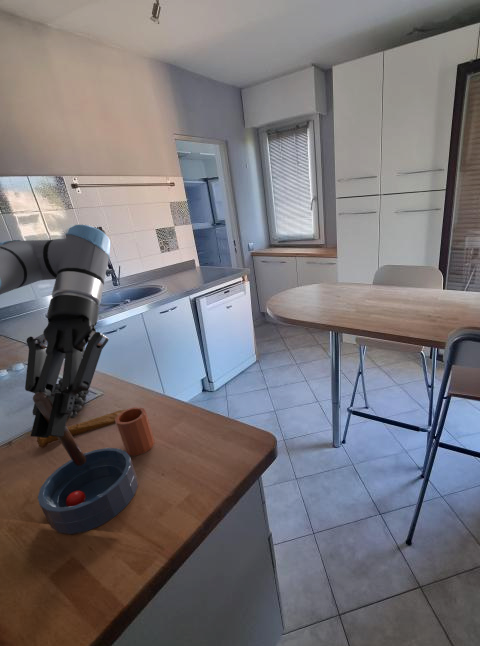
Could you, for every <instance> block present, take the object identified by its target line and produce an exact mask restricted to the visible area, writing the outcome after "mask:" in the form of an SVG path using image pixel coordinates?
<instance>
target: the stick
mask: <svg viewBox="0 0 480 646" xmlns="http://www.w3.org/2000/svg"><path fill="white" fill-rule="evenodd" d="M32 402H34V403H35V404H36V406H37V407H38V409H39V410H40V412H41V413H42V415H43V416H44V418H45V419H46V421H47V422H48V424H49V420H50V415H51V410H52V407H53V404H52V402H51V401H50V399H49V397H48V396H47V394H46V393H44V392H38V393H36V394H35V393H34V394H33V396H32ZM67 427H68V426H67V425H66V426H65V431H64V436H63V437H57V438H58V439H59V440H58V441H59V442H60V444H61V445H62V447H63V448H64V450H65V451H66V453H67V454H68V456H69V458H70V460H72V461H73V462H74V464H75V465H77V466H81V465H83V464H84V463H85V462H86V457H85V456H84V452H83V451H82V449H81V447H80V445H79V444H78V443H77V441H76V439H75V438H74V436H72V435H71V433H70V431H69V430H68V428H67Z"/></svg>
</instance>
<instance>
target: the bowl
mask: <svg viewBox="0 0 480 646" xmlns="http://www.w3.org/2000/svg"><path fill="white" fill-rule="evenodd" d="M83 454H84V456H85V457H86V462H85V463H84V464H83V465H81V466H77V465H75V464H74V462H73V461H72V459H70V460H68V461H67V462H65V463H63V464H62V465H60V466H59V467H58V468H57V469H56V470H54V471H53V472H52V473H51V474H50V475H49V476H48V477H47V478H46V480H45V481H44V482H43V483H42V485H41V487H40V488H39V491H38V495H37V500H38V504H39V507H40V508H41V510H42V512H43V514H44V516H45V518H46V520H47V522H48V524H49V526H50V528H51V529H53V530H54V531H56V532H57V533H59V534H66V535H74V534H79V533H85V532H89V531H92V530H93V529H96V528H98V527H101V526H103V525H104V524H105V523H107V522H109V521H111V520H112V519H113V518H115V517H117V515H119V513H121V512H122V511H124V509H125V508H126V507H127V506H128V505H129V504H130V502H131V501H132V500H133V498H134V497H135V494H136V492H137V490H138V486H139V483H138V482H139V480H138V475H137V473H136V470H135V467H134V464H133V461H132V459H131V455H128V454H127V452H126V451H125V450H123V449H121V448H118V447H105V448H104V447H103V448H97V449H93V450H91V451H88V452H83ZM74 491H82V492H83V493H84V494H85V496H86V499H85V502H84V503H81V504H78V505H76V506H70V507H67V505H66V499H67V497H68V496H69V494H71V493H72V492H74Z"/></svg>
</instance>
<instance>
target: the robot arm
mask: <svg viewBox="0 0 480 646" xmlns="http://www.w3.org/2000/svg"><path fill="white" fill-rule="evenodd" d="M110 253H111V240H110V238H109V237H108V236H107V234H106V233H105V232H103V230H101V229H99V228H98V227H95V226H92V225H89V224H74V225H73V226H71V227H69V228H68V230H67V232H66V233H65V238H54V239H33V240H29V239H28V240H21V239H13V240H6V241H0V296H1V295H3V294H5V293H8V292H11V291H13V290H16V289H17V290H18V289H20V288H23V287H25V286H29V285H31V284H34V283H37V282H41V281H50V280H55V281H54V285H53V289H52V293H51V297H52V298H51V299H50V301H49V304H48V309H47V312H46V318H47V325H46V327H45V328H44V329H43V333H42V334H40V335H38V336H36V337H34V336H29V337H27V338H26V344H27V347H28V356H27V364H26V365H27V366H26V374H25V384H24V385H25V386H24V390H25V391H26V392H29V393H32V394H34V395H35V394H36V393H38V392H44V393H46V394H47V396H48V397H49V399H50V401H51V402H52V404H53V407H52V410H51V415H50V420H49V424H48V422H47V421H46V419H45V418H44V416H43V415H42V413H41V412H40V410H39V409H38V407H37V406H36V404H35V402H34V404H33V408H32V415H33V416H34V419H33V423H32V428H31V432H30V437H34V438H37V437H41V438H48V437H49V436H56V437H63V436H64V431H65V426H66V427H67V420H68V418H67V416H68V414H71V413H72V411H73V406H74V401H75V396H76V394H77V393H79V392H81V391H87V390H90V387H91V384H92V382H93V378H94V375H95V372H96V369H97V367H98V364H99V360H100V357H101V354H102V351H103V349H104V347H105V346H106V345H107V344H108V343H109V337H107V336H106V335H105V334H103V333H101V332H100V331H97V330H96V326H97V324H98V320H99V314H100V305H101V304H102V303H101V301H102V296H103V291H104V284H105V278H106V273H107V269H108V266H109V261H110V260H111V256H110ZM63 363H64V364H63ZM62 367H63V372H62V378H61V379H62V386H61V388H58V391H60V392H63V394H62V393H55V394H53V393H54V389H55V386H56V384H58V383H57V382H58V381H59V380H58V379H59V376H60V372H61V370H62Z"/></svg>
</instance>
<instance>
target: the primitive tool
mask: <svg viewBox="0 0 480 646" xmlns="http://www.w3.org/2000/svg"><path fill="white" fill-rule="evenodd" d="M125 410H126V409H120V410H116V411H114V412H110V413H107V414H105V415H102V416H99V417H95V418H92V419H88V420H86V421H83V422H79V423H76V424H73V425H70V426H66V427H67V428H68V430H69V431H70V433H71V435H72V436H73V437H74V436H76V435H80V434H84V433H86V432H90V431H93V430H97V429H101V428H103V427H106V426H110V425H113V424H114V425H115V424H116V423H115V418H116V416H117V415H119V414H120V413H121V412H123V411H125ZM58 441H59V439H58V438H57V437H56V436H49V437H48V438H41V437H36V442H37V444H38V447H39V448H42V449H44V448H45V447H47V446H48V445H49V444H52V443H54V442H58Z"/></svg>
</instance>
